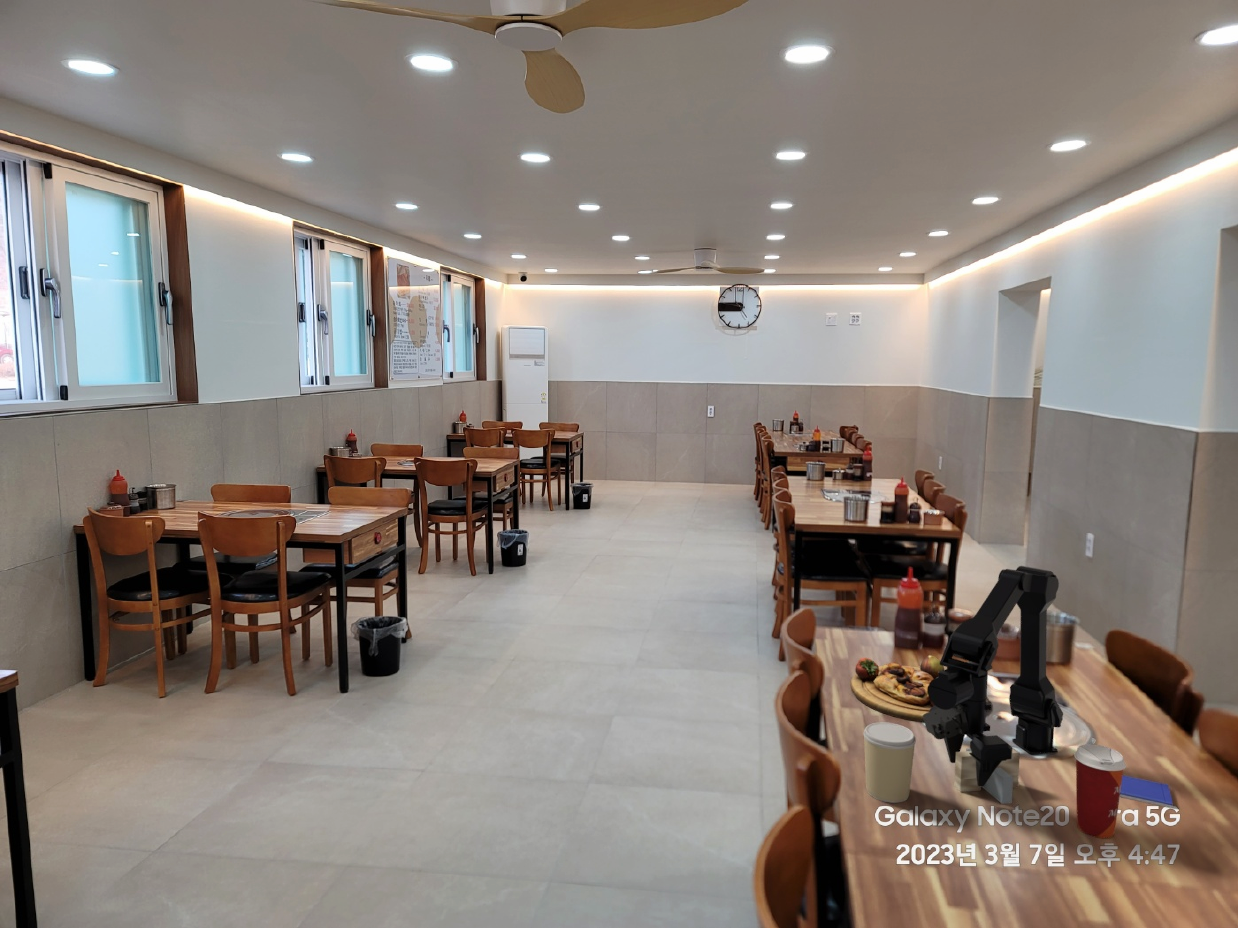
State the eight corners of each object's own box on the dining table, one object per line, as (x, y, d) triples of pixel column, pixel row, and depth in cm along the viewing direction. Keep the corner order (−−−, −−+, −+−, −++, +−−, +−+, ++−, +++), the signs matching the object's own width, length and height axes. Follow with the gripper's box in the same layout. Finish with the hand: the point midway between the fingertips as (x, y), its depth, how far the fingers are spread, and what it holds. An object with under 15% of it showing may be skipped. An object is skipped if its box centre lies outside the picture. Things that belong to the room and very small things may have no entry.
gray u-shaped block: (974, 771, 159) (975, 747, 158) (1011, 802, 147) (1013, 777, 146) (964, 772, 158) (965, 748, 158) (1001, 803, 147) (1003, 777, 146)
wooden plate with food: (825, 695, 198) (826, 664, 197) (889, 663, 219) (890, 634, 218) (951, 740, 175) (953, 705, 174) (1008, 699, 196) (1011, 667, 195)
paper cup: (1129, 844, 134) (1134, 765, 132) (1079, 839, 135) (1084, 760, 134) (1110, 819, 141) (1115, 744, 140) (1063, 814, 143) (1067, 740, 141)
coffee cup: (922, 792, 151) (924, 731, 150) (899, 810, 144) (901, 747, 143) (876, 774, 157) (878, 717, 156) (852, 791, 151) (854, 731, 150)
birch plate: (1011, 782, 155) (1013, 747, 154) (1018, 787, 153) (1019, 752, 152) (954, 786, 153) (955, 751, 152) (960, 791, 151) (961, 756, 150)
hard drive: (1094, 786, 151) (1172, 802, 145) (1093, 767, 158) (1168, 783, 152) (1093, 793, 151) (1172, 811, 145) (1092, 775, 158) (1167, 791, 152)
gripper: (905, 679, 158) (903, 754, 160) (958, 718, 140) (954, 802, 141) (957, 676, 160) (954, 750, 161) (1016, 714, 141) (1012, 797, 143)
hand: (966, 773), depth 152 cm, fingers open, 9 cm apart
